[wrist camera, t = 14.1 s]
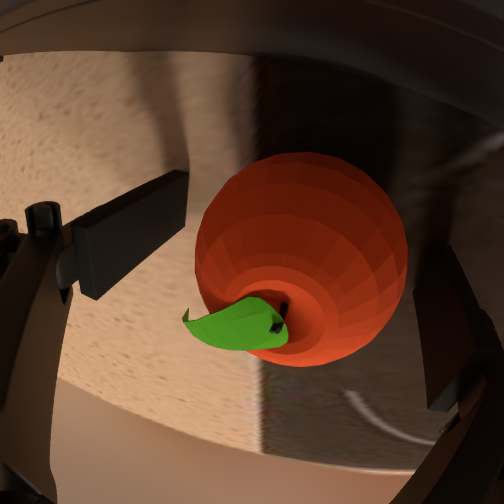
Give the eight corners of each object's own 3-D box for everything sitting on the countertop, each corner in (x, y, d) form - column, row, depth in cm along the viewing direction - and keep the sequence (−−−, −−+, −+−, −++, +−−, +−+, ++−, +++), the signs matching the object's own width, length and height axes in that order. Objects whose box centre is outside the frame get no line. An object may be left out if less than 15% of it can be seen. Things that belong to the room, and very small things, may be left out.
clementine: (265, 311, 17) (210, 423, 11) (193, 192, 15) (87, 267, 9) (419, 261, 13) (444, 389, 7) (354, 109, 11) (351, 122, 5)
